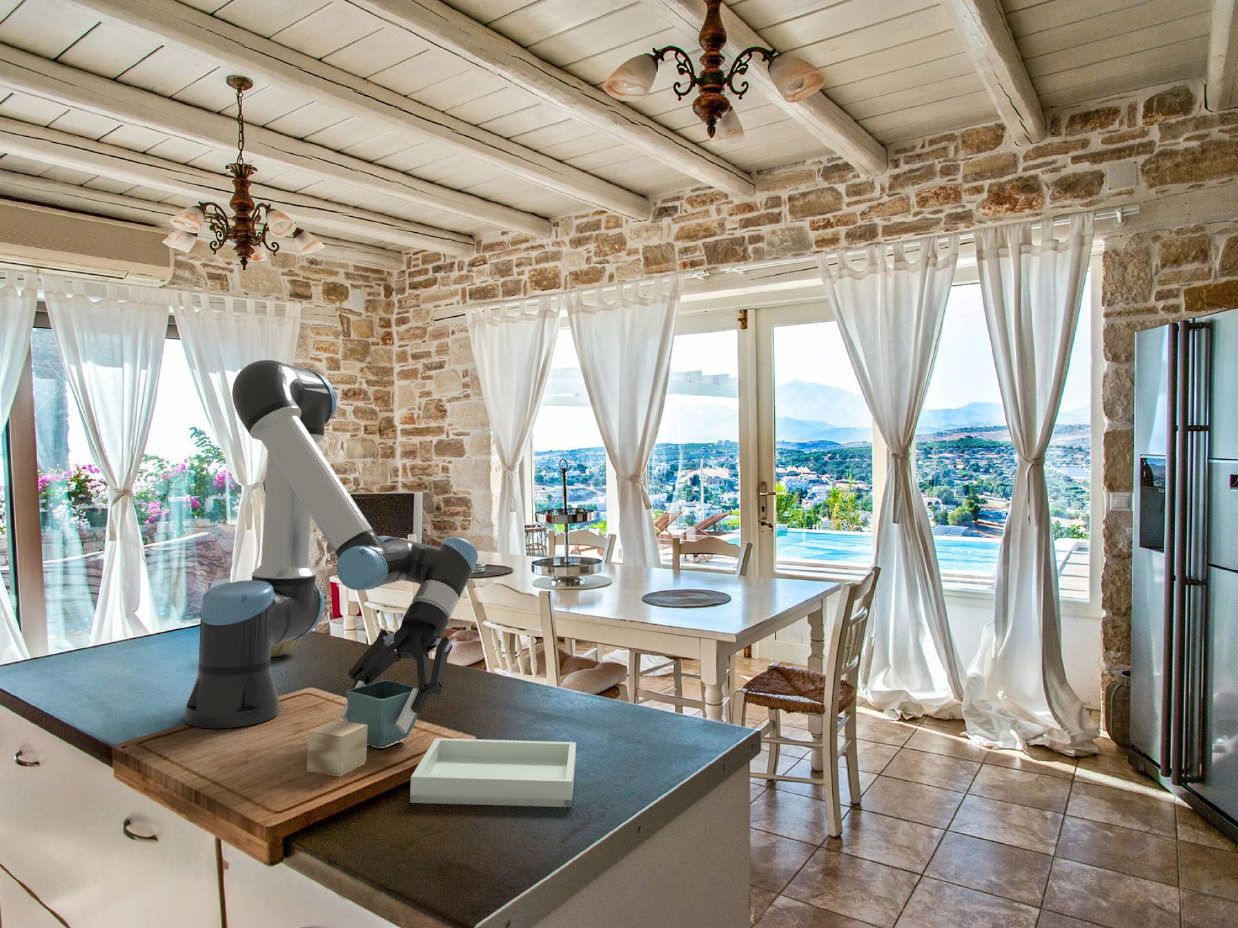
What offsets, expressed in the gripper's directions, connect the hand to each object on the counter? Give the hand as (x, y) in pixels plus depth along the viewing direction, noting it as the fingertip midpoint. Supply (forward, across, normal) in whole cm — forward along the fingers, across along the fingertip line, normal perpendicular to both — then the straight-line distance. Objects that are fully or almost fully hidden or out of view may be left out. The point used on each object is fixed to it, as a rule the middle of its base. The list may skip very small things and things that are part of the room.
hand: (372, 724), depth 128 cm
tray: (+6, -25, 0) cm, 25 cm away
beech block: (+9, 0, +3) cm, 9 cm away
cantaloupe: (-28, +59, -33) cm, 74 cm away
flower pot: (+1, 0, -5) cm, 5 cm away
